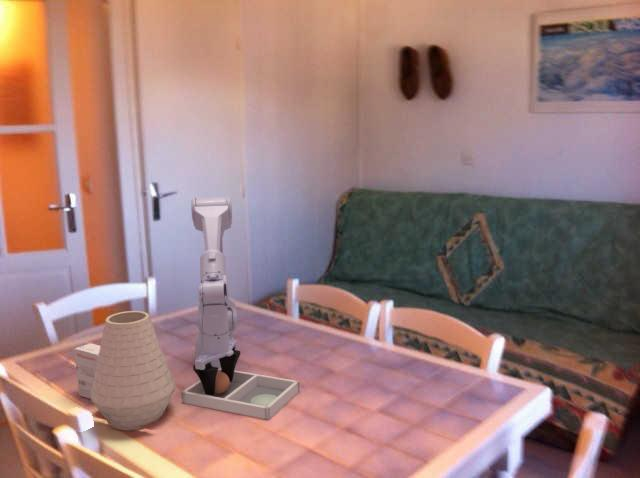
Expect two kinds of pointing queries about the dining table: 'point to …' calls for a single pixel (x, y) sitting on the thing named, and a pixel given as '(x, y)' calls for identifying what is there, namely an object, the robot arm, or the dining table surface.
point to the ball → (221, 382)
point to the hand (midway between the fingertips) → (219, 387)
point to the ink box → (86, 367)
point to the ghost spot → (263, 399)
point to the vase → (131, 373)
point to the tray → (244, 395)
